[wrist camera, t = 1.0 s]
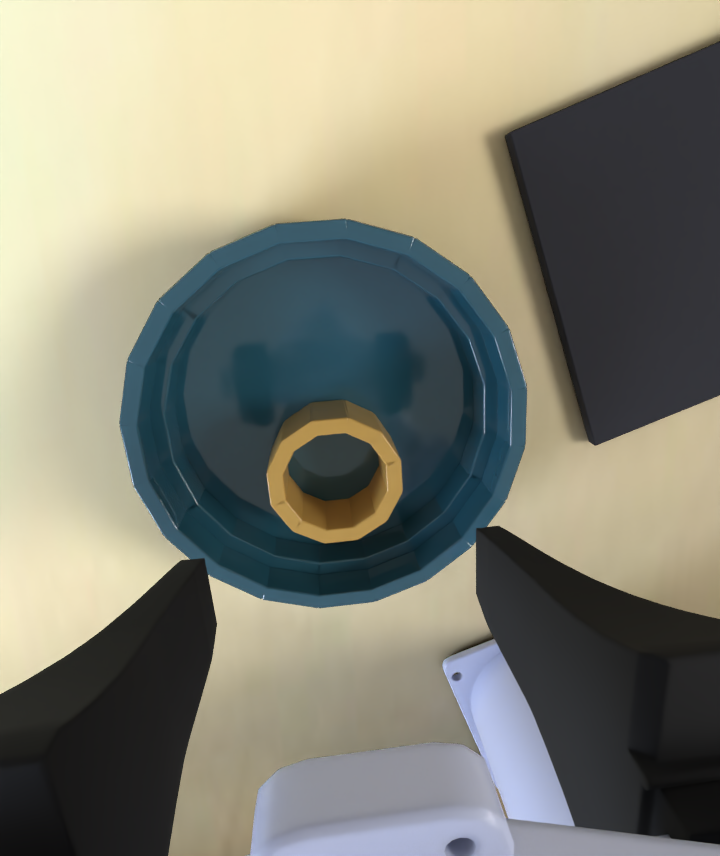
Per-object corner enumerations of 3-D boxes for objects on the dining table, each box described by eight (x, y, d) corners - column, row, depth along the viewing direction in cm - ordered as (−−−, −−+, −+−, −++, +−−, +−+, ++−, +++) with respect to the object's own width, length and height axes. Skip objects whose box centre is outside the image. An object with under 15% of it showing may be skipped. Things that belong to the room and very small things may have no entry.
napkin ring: (414, 470, 23) (427, 495, 20) (319, 532, 23) (319, 565, 21) (348, 376, 21) (353, 391, 19) (248, 445, 22) (239, 469, 19)
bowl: (534, 487, 24) (569, 524, 21) (247, 603, 24) (237, 657, 21) (429, 164, 19) (453, 145, 16) (81, 315, 20) (35, 327, 17)
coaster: (846, 336, 23) (860, 338, 22) (588, 441, 23) (595, 446, 23) (816, 0, 19) (832, -8, 18) (504, 135, 19) (509, 132, 19)
